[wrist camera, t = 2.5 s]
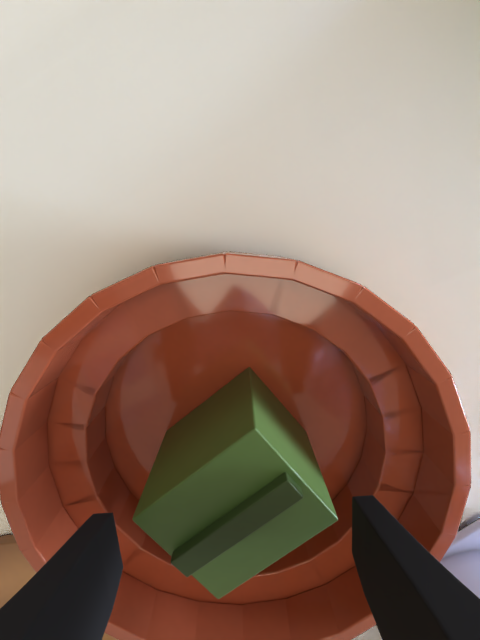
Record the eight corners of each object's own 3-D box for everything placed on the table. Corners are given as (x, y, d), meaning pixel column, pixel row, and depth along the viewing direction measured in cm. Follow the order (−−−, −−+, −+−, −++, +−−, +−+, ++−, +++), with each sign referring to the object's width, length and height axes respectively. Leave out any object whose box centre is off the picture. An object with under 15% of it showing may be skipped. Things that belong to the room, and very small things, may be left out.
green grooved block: (306, 431, 15) (343, 531, 10) (224, 490, 16) (217, 614, 10) (249, 365, 14) (256, 435, 9) (165, 431, 15) (126, 531, 10)
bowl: (468, 443, 16) (556, 518, 11) (217, 608, 18) (210, 724, 14) (262, 169, 13) (274, 129, 9) (-6, 404, 15) (-104, 467, 11)
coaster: (178, 623, 18) (176, 635, 18) (44, 712, 20) (38, 726, 19) (32, 496, 16) (25, 505, 16) (-103, 605, 18) (-115, 617, 17)
